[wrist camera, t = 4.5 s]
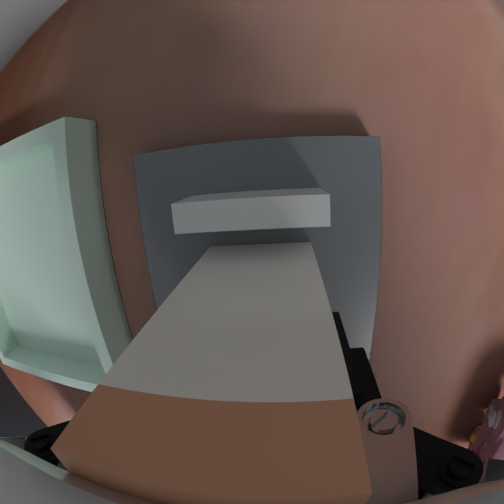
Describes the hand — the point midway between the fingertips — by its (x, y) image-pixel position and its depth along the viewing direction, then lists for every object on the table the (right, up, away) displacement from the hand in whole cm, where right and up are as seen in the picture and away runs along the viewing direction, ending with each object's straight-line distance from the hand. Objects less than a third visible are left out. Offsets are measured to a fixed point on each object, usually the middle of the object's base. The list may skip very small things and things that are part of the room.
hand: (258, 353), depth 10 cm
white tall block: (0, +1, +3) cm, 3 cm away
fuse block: (0, +1, +4) cm, 4 cm away
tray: (-14, +3, +5) cm, 15 cm away
